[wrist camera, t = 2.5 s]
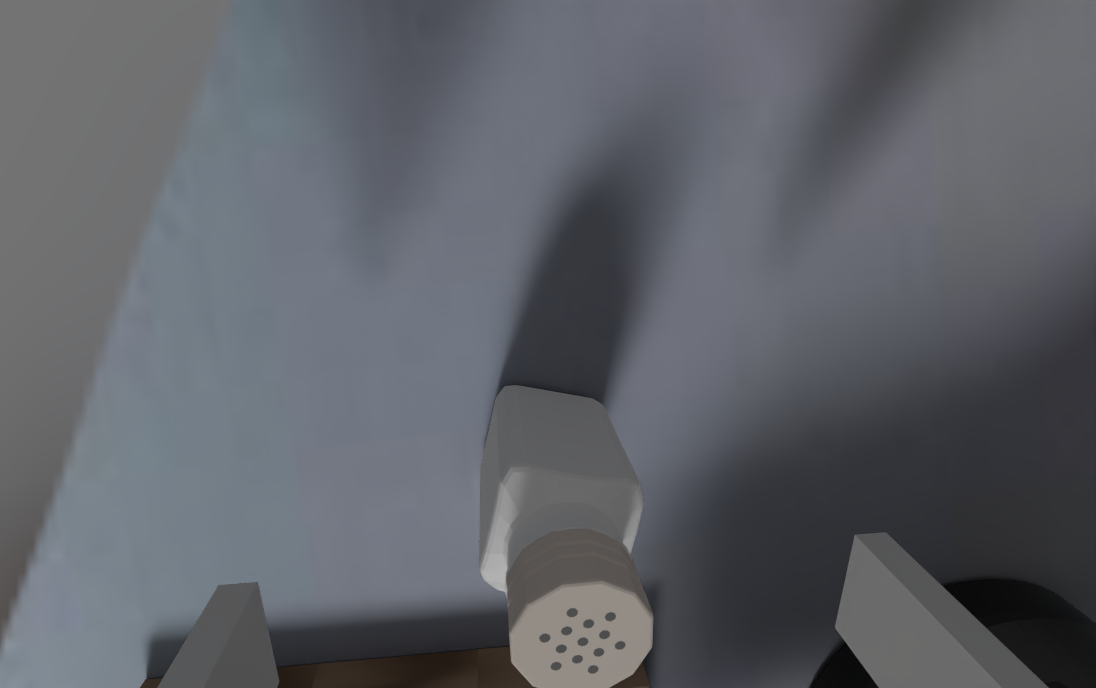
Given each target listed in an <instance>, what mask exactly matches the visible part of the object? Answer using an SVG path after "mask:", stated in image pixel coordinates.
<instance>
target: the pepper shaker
mask: <svg viewBox="0 0 1096 688" xmlns="http://www.w3.org/2000/svg"><path fill="white" fill-rule="evenodd" d="M642 508H643V495H642V490H641V484H640V482H639V480H638V478H637V475H636V473H635V471H634V469H633V467H632V465H631V463H630V461H629V459H628V457H627V454H626V452H625V450H624V448H623V446H622V444H621V442H620V440H619V438H618V436H617V433H616V431H615V429H614V427H613V425H612V423H611V421H610V419H609V417H608V415H607V412H606V410H605V408H604V406H603V405H602V404H601V403H599V402H598V401H596V400H594V399H593V398H587V397H582V396H576V395H570V394H565V393H559V392H553V391H548V390H542V389H536V388H530V387H525V386H519V385H510V386H504V387H503V389H502V390H501V391H500V393H499V394H498V395H497V397H496V399H495V404H494V408H493V413H492V417H491V422H490V426H489V431H488V435H487V440H486V444H485V449H484V453H483V458H482V462H481V467H480V540H479V568H480V571H481V574H482V577H483V579H484V580H485V581H486V582H488V583H489V584H490V585H492V586H493V587H494V588H496V589H497V590H500V591H504V592H505V593H506V597H507V603H508V622H509V639H510V654H511V662H512V664H513V665H514V666H515V667H516V668H517V669H518V670H519V672H520V673H521V674H522V675H523V676H524V677H525V678H526V679H527V680H528V682H529V683H530V684H531V685H532V686H533V687H537V688H609V687H611V686H613V685H615V684H617V683H618V682H620V681H622V680H624V679H626V678H627V677H629V676H631V675H633V674H634V672H635V671H636V669H637V668H638V667H639V665H640V664H641V662H642V661H643V659H644V658H645V657H646V655H647V654H648V652H649V651H650V650H651V648H652V643H653V616H654V615H653V613H652V610H651V607H650V605H649V602H648V599H647V596H646V594H645V592H644V588H643V586H642V583H641V580H640V578H639V575H638V572H637V569H636V567H635V564H634V561H633V559H632V557H631V555H630V553H631V551H632V547H633V544H634V540H635V537H636V534H637V530H638V526H639V522H640V517H641V513H642Z"/></svg>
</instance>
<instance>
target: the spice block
mask: <svg viewBox="0 0 1096 688" xmlns="http://www.w3.org/2000/svg"><path fill="white" fill-rule="evenodd" d="M277 673H278V678H279V684H278V687H277V688H537V687H533V686H532V685H531V684H530V683H529V682H528V680H527V679H526V678H525V677H524V676H523V675H522V674H521V673H520V672H519V670H518V669H517V668H516V667H515V666H514V665H513V664H512V662H511V654H510V646H508V647H497V648H486V649H475V650H464V651H453V652H442V653H431V654H420V655H409V656H398V657H387V658H376V659H365V660H354V661H343V662H332V663H321V664H310V665H299V666H288V667H277ZM162 679H163V678H155V679H145V681H144V683H143V684H142V686H141V687H140V688H157V687H158V686H159V684H160V682H161V681H162ZM609 688H650V685H649V682H648V679H647V675H646V672H645V669H644V666H643V663H642V662H641V664H640V665H639V667H638V668H637V669H636V671H635V672H634V674H633V675H631V676H629V677H627V678H626V679H624V680H622V681H620V682H618V683H617V684H615V685H613V686H611V687H609Z"/></svg>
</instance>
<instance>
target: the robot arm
mask: <svg viewBox="0 0 1096 688" xmlns="http://www.w3.org/2000/svg"><path fill="white" fill-rule="evenodd" d="M835 628H836V630H837V631H838V633H839V634H840V635H841V637H842V638H843V639H844V641H845V642H846V643H847V644H846V645H845V646H844V647H843V648H842V649H841V650H840V651H839V652H838V654H837V655H836V656H835V657H834V658H833V659H832V660H831V662H830V663H829V664H828V665H827V667H826V668H825V669H824V671H823V672H822V674H821V675H820V677H819V678H818V680H817V682H816V683H815V685H814V687H813V688H1096V623H1094V622H1093V621H1092V620H1090V619H1089V618H1088V617H1087V616H1085V615H1084V614H1083V613H1081V612H1080V611H1079V610H1077V609H1076V608H1075V607H1074V606H1072V605H1071V604H1070V603H1068V602H1067V601H1066V600H1064V599H1063V598H1062V597H1060V596H1059V595H1057V594H1055V593H1054V592H1052V591H1050V590H1047V589H1045V588H1043V587H1040V586H1037V585H1034V584H1030V583H1026V582H1019V581H1011V580H982V581H974V582H967V583H962V584H957V585H953V586H949V587H945V588H944V587H943V586H942V585H941V584H940V583H938V582H937V581H936V580H935V579H934V578H933V577H932V576H931V575H930V574H929V573H928V572H927V571H926V570H925V569H924V568H923V567H922V566H921V565H920V564H919V563H918V562H916V561H915V560H914V559H913V558H912V557H911V556H910V555H909V554H908V553H907V552H906V551H905V550H904V549H903V548H902V547H901V546H900V545H899V544H898V543H897V542H896V541H894V540H893V539H892V538H891V537H890V536H889V535H888V534H887V533H886V532H881V533H869V534H856V535H855V536H854V540H853V545H852V550H851V554H850V559H849V564H848V568H847V573H846V578H845V582H844V587H843V592H842V596H841V601H840V606H839V610H838V615H837V619H836V624H835ZM278 684H279V678H278V673H277V668H276V664H275V659H274V655H273V650H272V645H271V641H270V636H269V632H268V627H267V622H266V618H265V613H264V608H263V604H262V599H261V595H260V590H259V585H258V582H253V583H240V584H228V585H218V587H217V589H216V590H215V592H214V594H213V595H212V597H211V599H210V600H209V602H208V604H207V605H206V607H205V609H204V610H203V612H202V614H201V615H200V617H199V619H198V620H197V622H196V624H195V625H194V627H193V629H192V630H191V632H190V634H189V635H188V637H187V639H186V640H185V642H184V644H183V645H182V647H181V649H180V651H179V652H178V654H177V656H176V657H175V659H174V661H173V662H172V664H171V666H170V667H169V669H168V671H167V672H166V674H165V676H164V677H163V679H162V681H161V682H160V684H159V686H158V687H157V688H277V687H278Z"/></svg>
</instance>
